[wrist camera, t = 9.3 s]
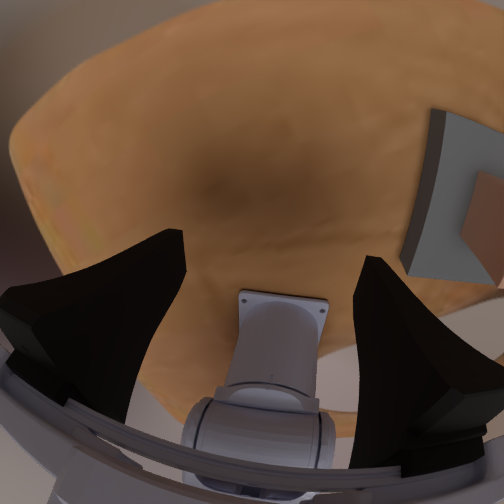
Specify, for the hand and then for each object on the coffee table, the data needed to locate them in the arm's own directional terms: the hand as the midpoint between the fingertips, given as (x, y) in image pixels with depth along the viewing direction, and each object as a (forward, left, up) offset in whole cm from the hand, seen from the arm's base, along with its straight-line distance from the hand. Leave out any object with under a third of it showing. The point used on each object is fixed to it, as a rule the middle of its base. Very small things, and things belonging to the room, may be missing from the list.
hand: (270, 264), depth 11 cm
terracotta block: (+1, -15, -8) cm, 17 cm away
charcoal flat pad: (+1, -16, -11) cm, 19 cm away
